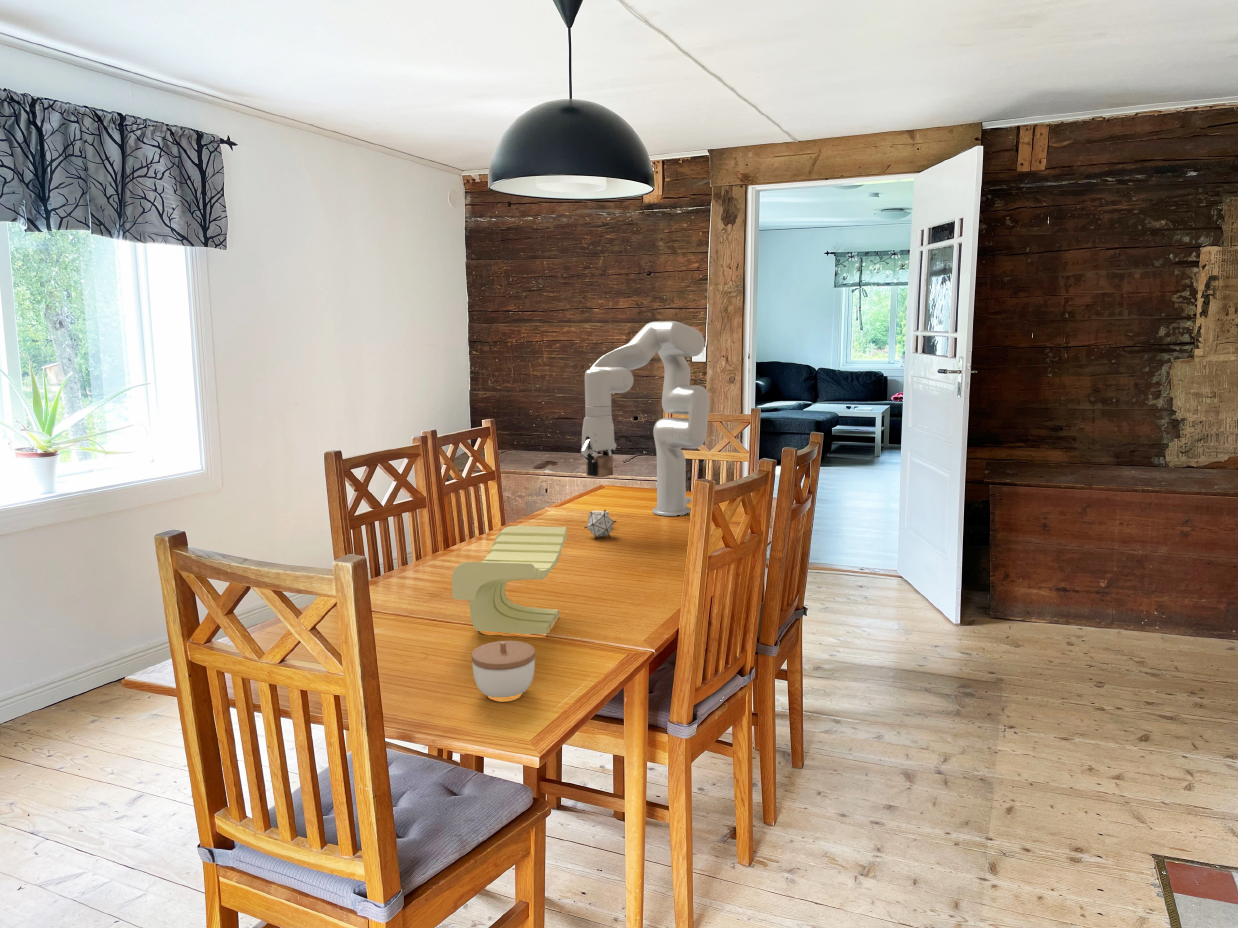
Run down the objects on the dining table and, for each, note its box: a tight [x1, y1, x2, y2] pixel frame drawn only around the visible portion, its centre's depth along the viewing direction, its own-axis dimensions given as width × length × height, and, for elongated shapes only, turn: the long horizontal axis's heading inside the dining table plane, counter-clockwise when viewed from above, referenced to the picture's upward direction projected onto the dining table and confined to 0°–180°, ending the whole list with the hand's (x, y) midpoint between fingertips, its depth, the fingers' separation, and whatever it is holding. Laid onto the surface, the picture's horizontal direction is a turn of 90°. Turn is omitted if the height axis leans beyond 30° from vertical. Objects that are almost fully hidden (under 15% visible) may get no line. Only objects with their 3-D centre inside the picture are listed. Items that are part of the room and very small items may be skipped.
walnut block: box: [585, 454, 614, 478], centre depth 252 cm, size 6×6×6 cm
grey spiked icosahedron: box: [587, 510, 610, 523], centre depth 267 cm, size 5×5×5 cm
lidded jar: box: [471, 640, 536, 697], centre depth 146 cm, size 11×11×9 cm
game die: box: [584, 509, 618, 540], centre depth 255 cm, size 9×8×10 cm
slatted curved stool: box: [451, 525, 568, 634], centre depth 180 cm, size 30×16×18 cm, turn 171°
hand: (599, 473), depth 252 cm, fingers closed on walnut block, 5 cm apart
